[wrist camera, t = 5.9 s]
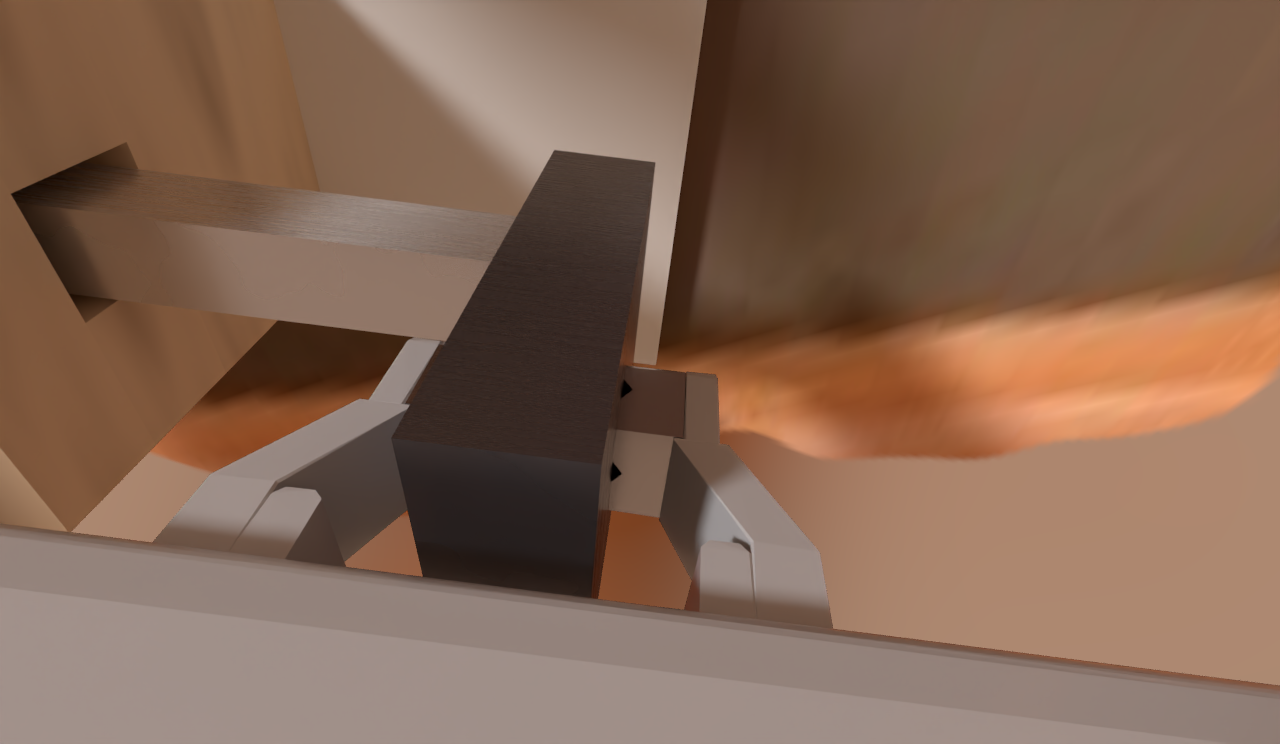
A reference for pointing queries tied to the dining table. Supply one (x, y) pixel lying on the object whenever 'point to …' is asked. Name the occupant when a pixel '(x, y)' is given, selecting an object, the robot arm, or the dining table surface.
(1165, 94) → the dining table surface
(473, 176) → the base board
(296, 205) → the shaft
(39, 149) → the bearing block
